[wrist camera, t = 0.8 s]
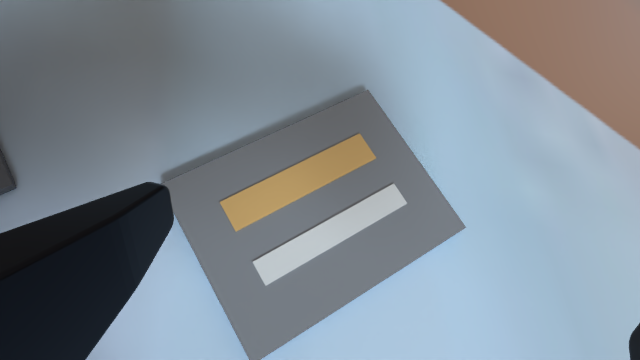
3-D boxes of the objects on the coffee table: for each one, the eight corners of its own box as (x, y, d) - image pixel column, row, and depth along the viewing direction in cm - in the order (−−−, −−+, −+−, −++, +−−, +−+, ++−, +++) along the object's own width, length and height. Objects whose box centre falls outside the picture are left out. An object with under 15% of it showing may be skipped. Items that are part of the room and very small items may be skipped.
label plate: (251, 364, 18) (252, 364, 17) (161, 189, 20) (158, 183, 20) (460, 230, 22) (466, 226, 21) (365, 95, 24) (368, 88, 23)
